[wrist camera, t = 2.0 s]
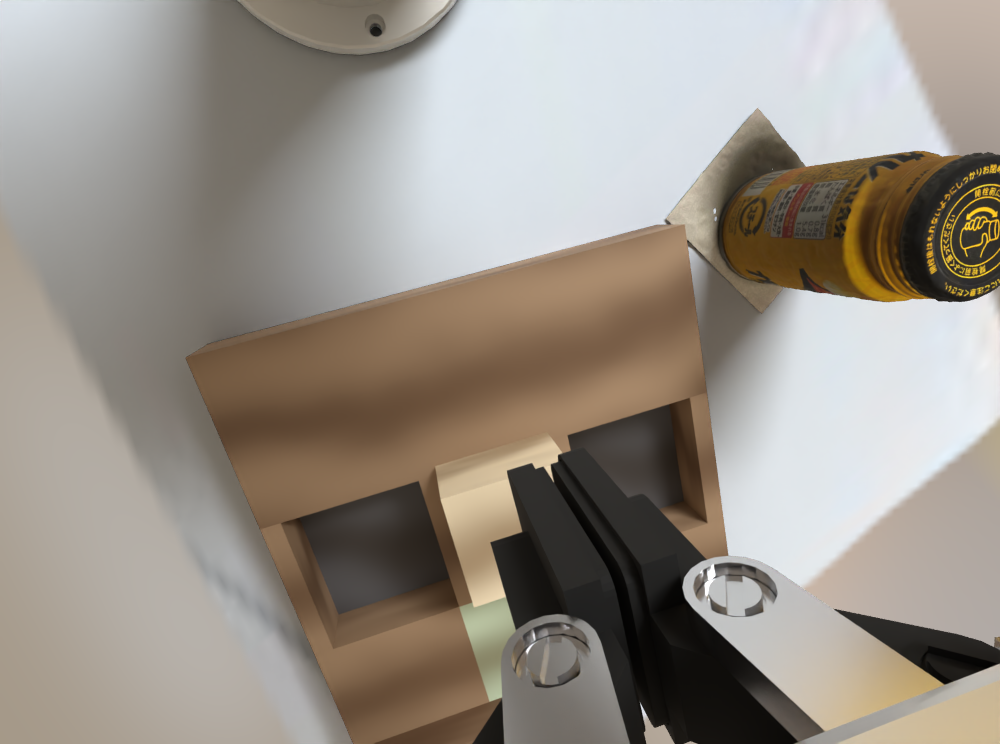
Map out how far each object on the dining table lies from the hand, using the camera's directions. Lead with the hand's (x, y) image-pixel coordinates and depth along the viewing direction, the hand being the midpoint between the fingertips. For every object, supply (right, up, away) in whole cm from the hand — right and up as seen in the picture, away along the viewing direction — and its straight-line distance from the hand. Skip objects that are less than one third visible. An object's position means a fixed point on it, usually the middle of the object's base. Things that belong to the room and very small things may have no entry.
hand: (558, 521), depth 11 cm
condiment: (+13, +12, +19) cm, 26 cm away
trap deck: (-1, -4, +20) cm, 21 cm away
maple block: (-1, -4, +17) cm, 18 cm away
